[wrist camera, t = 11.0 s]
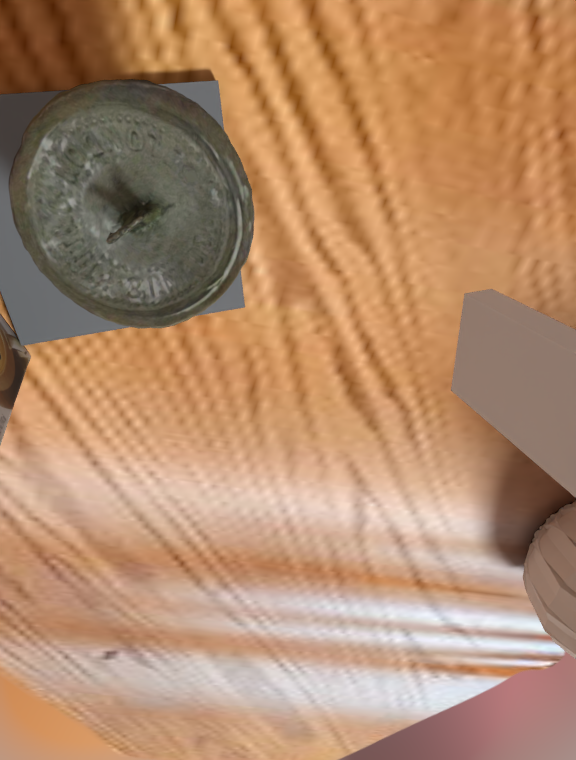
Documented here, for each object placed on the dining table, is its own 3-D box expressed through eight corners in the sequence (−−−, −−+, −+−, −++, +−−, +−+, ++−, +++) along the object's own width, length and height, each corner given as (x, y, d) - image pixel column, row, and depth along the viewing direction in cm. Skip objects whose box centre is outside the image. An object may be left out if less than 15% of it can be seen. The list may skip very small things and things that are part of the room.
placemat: (216, 81, 26) (217, 80, 26) (243, 304, 33) (244, 307, 32) (-70, 99, 23) (-75, 99, 23) (23, 341, 30) (21, 345, 29)
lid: (219, 310, 27) (247, 348, 23) (22, 310, 23) (16, 356, 19) (239, 100, 22) (278, 103, 19) (-6, 52, 18) (-22, 43, 14)
